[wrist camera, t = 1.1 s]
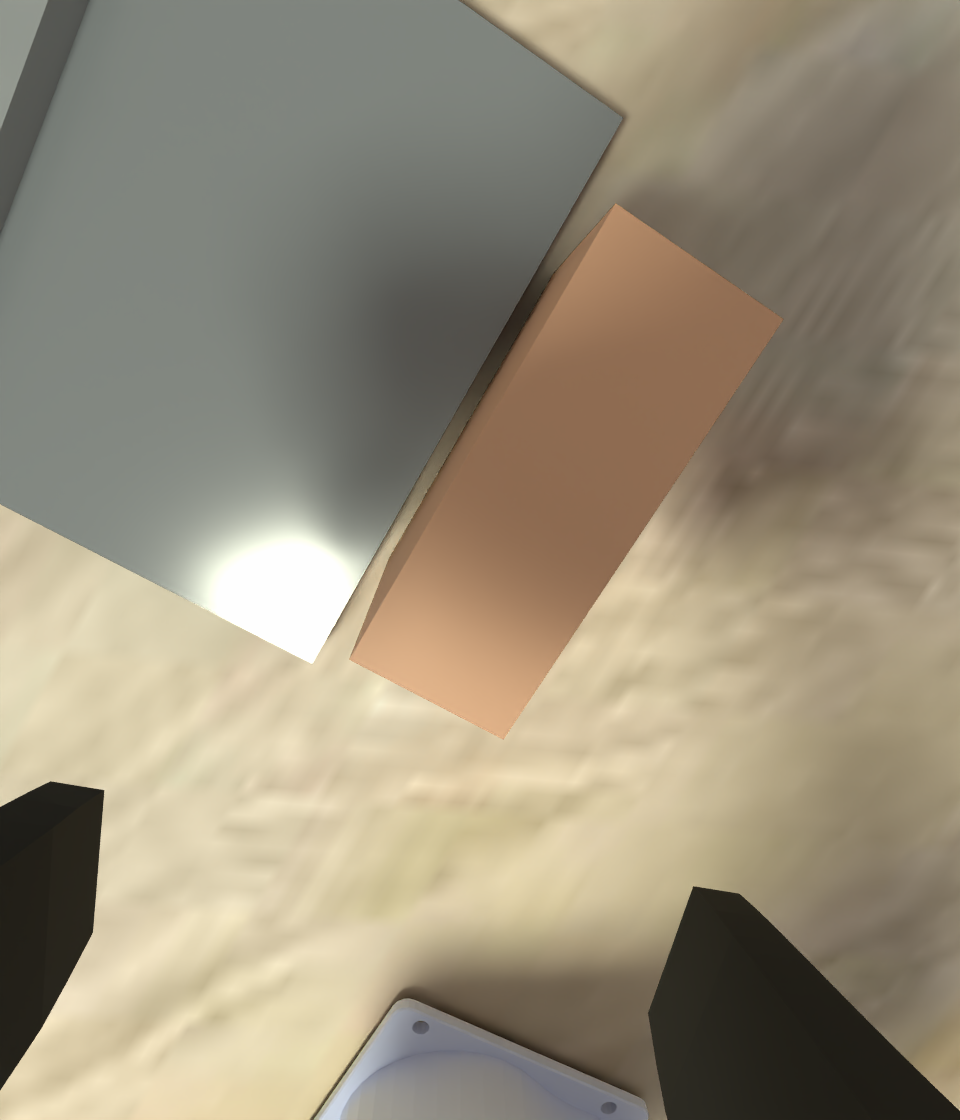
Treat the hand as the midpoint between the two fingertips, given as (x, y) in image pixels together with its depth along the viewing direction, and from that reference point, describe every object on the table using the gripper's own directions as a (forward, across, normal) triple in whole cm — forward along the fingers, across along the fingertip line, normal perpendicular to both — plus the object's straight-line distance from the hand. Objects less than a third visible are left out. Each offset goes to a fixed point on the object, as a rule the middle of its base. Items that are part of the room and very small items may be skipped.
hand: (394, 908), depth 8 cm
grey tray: (+10, +6, -7) cm, 14 cm away
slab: (+10, -1, -5) cm, 11 cm away
